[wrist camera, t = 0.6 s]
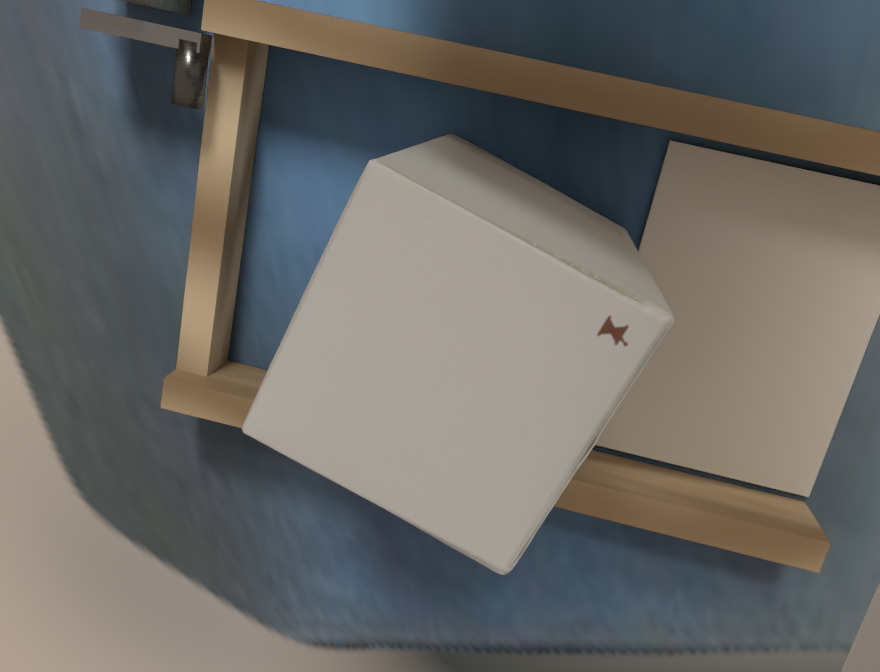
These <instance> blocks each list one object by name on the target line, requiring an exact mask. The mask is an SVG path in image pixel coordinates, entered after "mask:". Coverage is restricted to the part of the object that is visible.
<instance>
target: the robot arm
mask: <svg viewBox="0 0 880 672" xmlns="http://www.w3.org/2000/svg"><path fill="white" fill-rule="evenodd" d="M841 672H880V583H879V585H878V587H877V589H876V592H875V594H874V596H873V599H872V601H871V603H870V605H869V608H868V610H867V612H866V615H865V617H864V619H863V622H862V624H861V626H860V629H859V631H858V633H857V636H856V638H855V640H854V642H853V645H852V647H851V649H850V652H849V654H848V656H847V659H846V661H845V664H844V666H843V668H842V670H841Z"/></svg>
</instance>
